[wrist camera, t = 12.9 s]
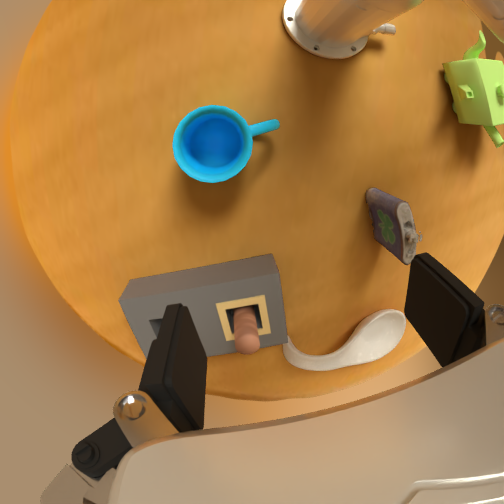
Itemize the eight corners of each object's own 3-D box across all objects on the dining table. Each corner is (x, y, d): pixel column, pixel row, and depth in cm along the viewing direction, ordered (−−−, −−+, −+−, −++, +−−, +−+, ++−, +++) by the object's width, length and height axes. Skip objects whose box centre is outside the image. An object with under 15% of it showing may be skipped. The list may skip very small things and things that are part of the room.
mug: (196, 182, 36) (188, 193, 28) (175, 125, 33) (162, 122, 25) (283, 153, 35) (298, 157, 28) (264, 96, 32) (275, 84, 25)
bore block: (272, 253, 41) (279, 273, 35) (281, 319, 45) (288, 344, 40) (130, 279, 40) (117, 301, 35) (155, 339, 45) (148, 364, 39)
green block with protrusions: (443, 38, 28) (485, 28, 17) (487, 86, 31) (528, 87, 21) (425, 99, 33) (473, 97, 22) (472, 145, 36) (517, 154, 26)
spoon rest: (403, 294, 47) (422, 315, 40) (392, 341, 51) (407, 363, 45) (280, 318, 46) (289, 346, 39) (283, 365, 50) (289, 393, 44)
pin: (250, 290, 41) (258, 334, 32) (254, 307, 42) (261, 352, 33) (230, 294, 41) (232, 338, 32) (234, 310, 42) (237, 356, 33)
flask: (362, 189, 38) (403, 208, 28) (378, 184, 38) (421, 201, 28) (374, 244, 42) (410, 275, 32) (389, 237, 41) (427, 266, 32)
